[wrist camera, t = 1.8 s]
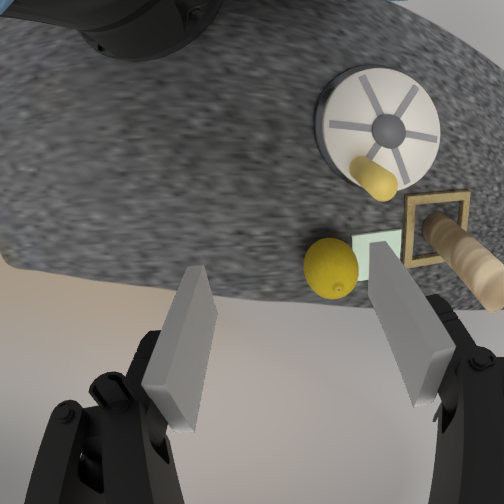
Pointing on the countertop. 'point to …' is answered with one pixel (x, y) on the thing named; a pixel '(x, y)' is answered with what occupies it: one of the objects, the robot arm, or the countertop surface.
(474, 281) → the dowel
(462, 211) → the square gold frame
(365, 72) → the handwheel
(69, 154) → the countertop surface
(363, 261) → the coaster
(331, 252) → the lemon
